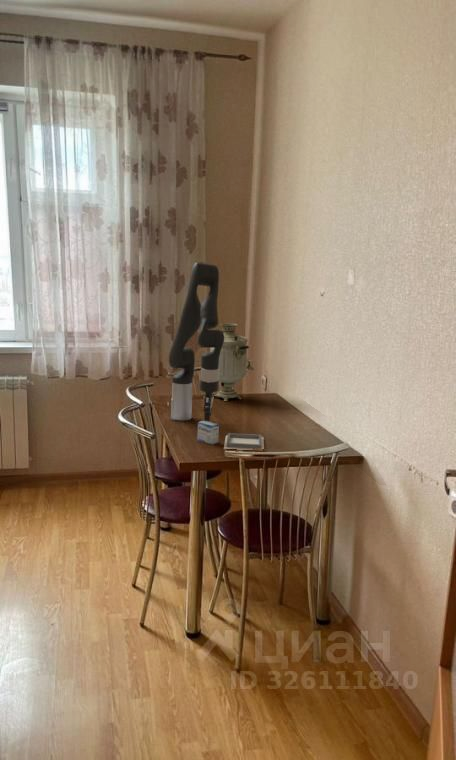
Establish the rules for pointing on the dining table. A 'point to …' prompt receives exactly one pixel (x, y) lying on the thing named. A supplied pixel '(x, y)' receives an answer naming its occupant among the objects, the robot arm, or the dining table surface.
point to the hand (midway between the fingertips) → (207, 418)
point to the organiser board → (243, 441)
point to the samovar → (232, 361)
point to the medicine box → (208, 432)
